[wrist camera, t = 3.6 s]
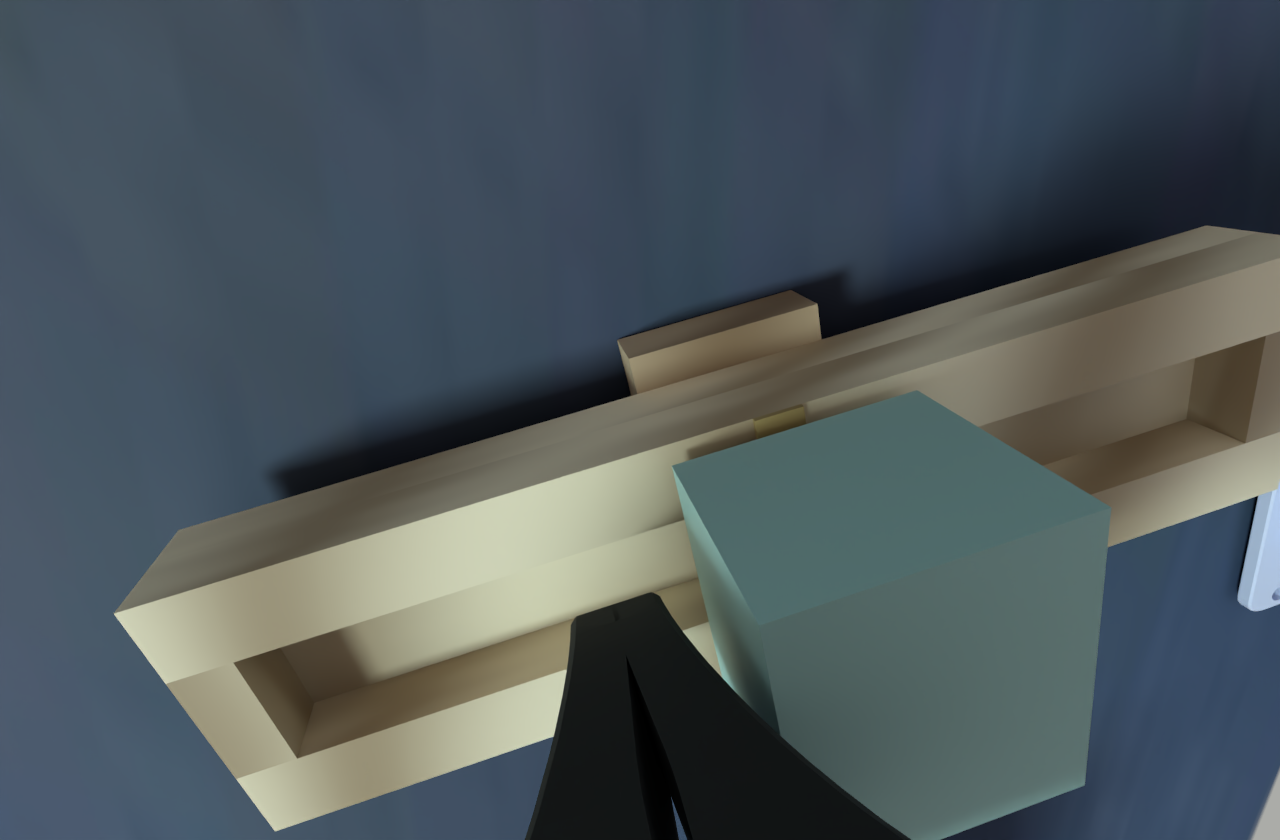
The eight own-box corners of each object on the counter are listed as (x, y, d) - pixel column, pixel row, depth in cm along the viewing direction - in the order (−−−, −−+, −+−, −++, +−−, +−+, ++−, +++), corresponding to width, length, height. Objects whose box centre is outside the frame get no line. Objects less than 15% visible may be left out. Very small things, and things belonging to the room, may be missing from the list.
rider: (876, 365, 11) (1110, 507, 7) (893, 575, 13) (1085, 785, 9) (653, 432, 11) (758, 625, 7) (704, 638, 13) (810, 888, 9)
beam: (1156, 184, 14) (1348, 200, 11) (1128, 447, 17) (1275, 520, 14) (186, 463, 12) (80, 579, 9) (333, 707, 15) (291, 860, 12)
